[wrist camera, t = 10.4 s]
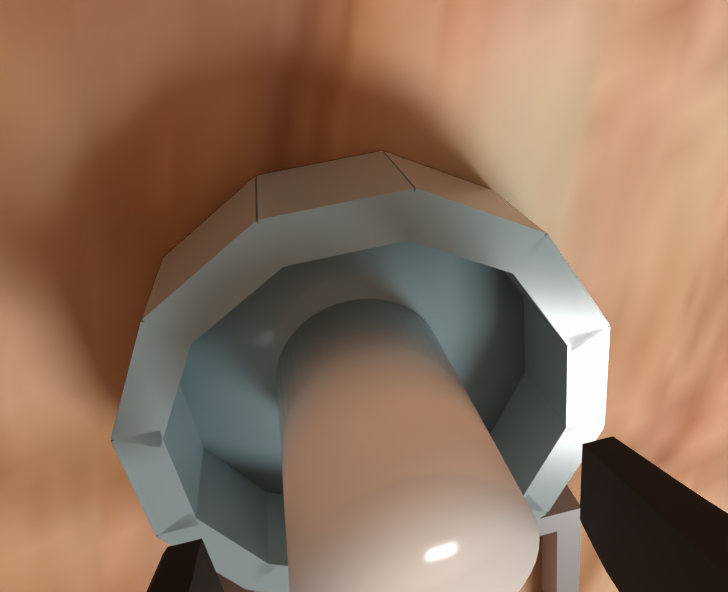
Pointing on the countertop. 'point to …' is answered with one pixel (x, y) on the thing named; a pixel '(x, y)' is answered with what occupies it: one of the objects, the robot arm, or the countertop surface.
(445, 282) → the bowl
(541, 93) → the countertop surface
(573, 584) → the empty gray rectangular frame
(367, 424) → the pestle
